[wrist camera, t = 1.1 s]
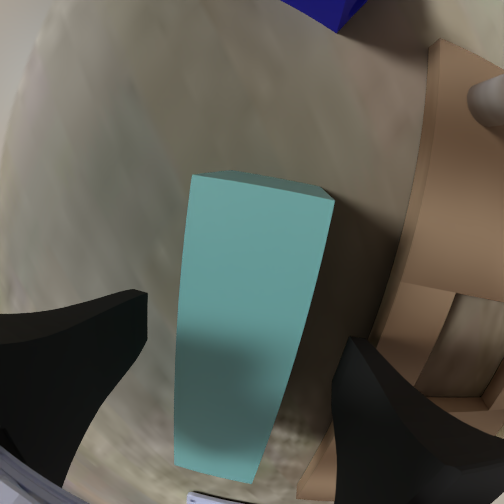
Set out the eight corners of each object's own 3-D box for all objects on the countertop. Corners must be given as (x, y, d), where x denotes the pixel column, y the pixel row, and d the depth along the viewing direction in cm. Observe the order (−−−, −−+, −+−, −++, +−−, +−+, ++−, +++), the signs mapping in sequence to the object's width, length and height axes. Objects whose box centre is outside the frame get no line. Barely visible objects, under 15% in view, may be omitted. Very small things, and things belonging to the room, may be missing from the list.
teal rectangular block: (264, 412, 14) (251, 483, 10) (202, 398, 14) (174, 464, 10) (319, 186, 11) (335, 200, 6) (232, 170, 11) (192, 174, 7)
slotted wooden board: (437, 483, 14) (452, 546, 8) (297, 484, 15) (289, 564, 9) (586, 134, 7) (663, 140, 1) (428, 35, 8) (508, -36, 2)
